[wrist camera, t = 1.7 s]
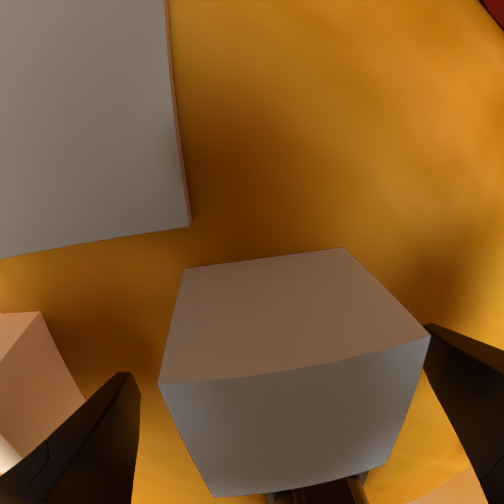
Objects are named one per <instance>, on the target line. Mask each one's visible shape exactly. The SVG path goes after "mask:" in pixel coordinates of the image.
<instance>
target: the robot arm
mask: <svg viewBox="0 0 504 504" xmlns="http://www.w3.org/2000/svg"><path fill="white" fill-rule="evenodd" d="M422 326H423V327H424V329H425V330H426V331H427V332H428V333H429V334H430V335H431V338H430V342H429V345H428V349H427V353H426V357H425V360H424V364H423V369H424V371H425V373H426V376H427V378H428V380H429V383H430V385H431V387H432V389H433V391H434V393H435V395H436V396H437V398H438V400H439V402H440V404H441V405H442V407H443V409H444V411H445V413H446V415H447V417H448V419H449V420H450V422H451V424H452V426H453V428H454V430H455V432H456V434H457V436H458V438H459V440H460V442H461V444H462V446H463V448H464V450H465V452H466V454H467V456H468V458H469V460H470V463H471V465H472V467H473V469H474V471H475V473H476V476H477V478H478V480H479V482H480V485H481V487H482V489H483V492H484V494H485V497H486V499H487V501H488V504H504V351H503V350H501V349H498V348H496V347H493V346H490V345H488V344H485V343H483V342H480V341H477V340H475V339H472V338H470V337H467V336H465V335H462V334H459V333H457V332H454V331H452V330H449V329H446V328H444V327H441V326H439V325H436V324H434V323H428V324H425V325H422ZM140 402H141V394H140V390H139V388H138V386H137V384H136V382H135V379H134V377H133V375H132V374H131V373H130V372H117V373H116V374H115V375H114V376H113V377H112V378H111V379H109V380H108V381H107V382H106V383H105V384H104V385H103V386H102V387H101V388H100V389H99V390H98V391H97V392H95V393H94V394H93V395H92V396H91V397H90V398H89V399H88V400H87V401H86V402H85V403H84V404H83V405H81V406H80V407H79V408H78V409H77V410H76V411H75V412H74V413H73V414H72V415H71V416H70V417H69V418H68V419H66V420H65V421H64V422H63V423H62V424H61V425H60V426H59V427H58V428H57V429H56V430H55V431H54V432H52V433H51V434H50V435H49V436H48V437H47V439H45V440H44V441H43V442H42V443H41V444H40V445H38V446H37V447H36V448H35V449H34V450H33V451H32V452H31V453H29V454H28V455H27V456H26V457H25V458H23V459H22V460H21V461H20V462H18V463H17V464H16V465H14V466H13V467H12V468H10V469H9V470H8V471H6V472H5V473H4V474H2V475H1V476H0V504H131V498H132V489H133V480H134V472H135V465H136V457H137V450H138V443H139V426H140ZM368 472H369V470H368V471H364V472H361V473H358V474H354V475H351V476H347V477H344V478H340V479H336V480H332V481H328V482H324V483H319V484H315V485H310V486H305V487H300V488H295V489H289V490H283V491H277V492H270V493H266V498H267V502H268V504H369V503H368V500H367V497H366V494H365V492H364V489H363V484H364V481H365V479H366V477H367V474H368Z"/></svg>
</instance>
